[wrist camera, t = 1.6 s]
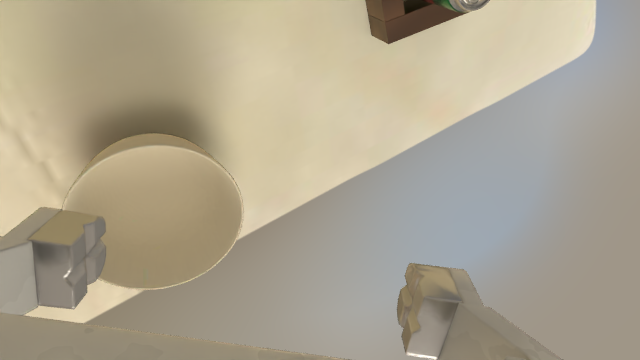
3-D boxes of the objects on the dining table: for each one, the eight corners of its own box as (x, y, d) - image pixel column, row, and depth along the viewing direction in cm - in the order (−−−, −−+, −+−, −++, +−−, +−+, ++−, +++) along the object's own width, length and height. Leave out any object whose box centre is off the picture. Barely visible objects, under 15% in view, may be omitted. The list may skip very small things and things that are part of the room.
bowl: (140, 72, 45) (145, 108, 37) (252, 162, 54) (276, 207, 46) (34, 184, 46) (17, 242, 38) (161, 253, 56) (168, 312, 48)
